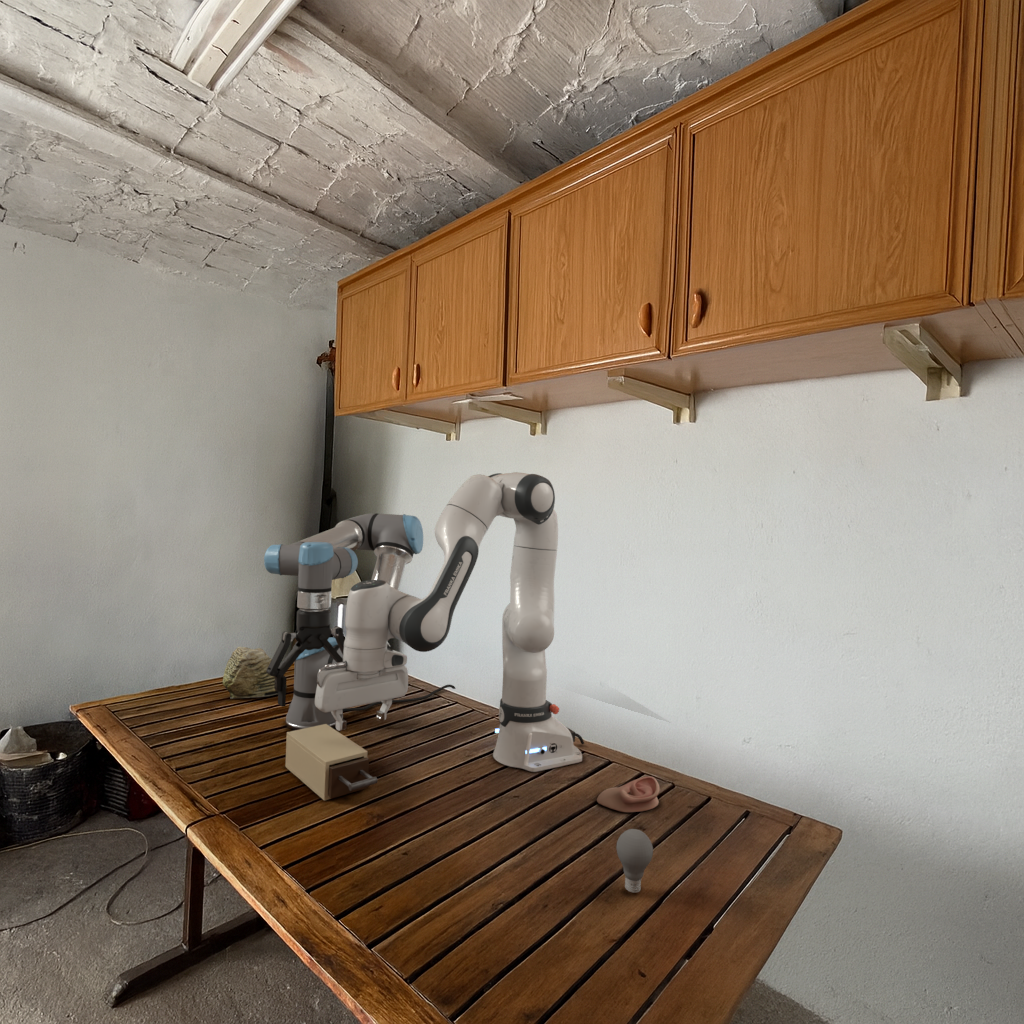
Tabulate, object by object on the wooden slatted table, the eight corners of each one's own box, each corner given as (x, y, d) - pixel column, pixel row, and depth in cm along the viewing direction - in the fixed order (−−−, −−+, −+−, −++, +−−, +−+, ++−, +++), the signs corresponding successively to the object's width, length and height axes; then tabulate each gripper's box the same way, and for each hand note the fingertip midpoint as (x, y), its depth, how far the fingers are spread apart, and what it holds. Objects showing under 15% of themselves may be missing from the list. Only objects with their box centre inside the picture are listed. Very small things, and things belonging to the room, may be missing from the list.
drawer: (382, 798, 132) (383, 768, 132) (344, 810, 127) (345, 779, 126) (328, 757, 151) (329, 731, 151) (293, 766, 146) (294, 739, 145)
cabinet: (366, 788, 139) (367, 751, 138) (324, 800, 132) (325, 762, 132) (324, 757, 154) (326, 723, 154) (285, 766, 147) (286, 732, 147)
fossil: (218, 695, 195) (220, 647, 195) (278, 685, 208) (279, 640, 207) (228, 703, 189) (230, 653, 188) (289, 692, 201) (290, 645, 201)
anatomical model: (596, 789, 133) (599, 767, 145) (595, 808, 134) (599, 785, 145) (660, 798, 131) (659, 775, 142) (659, 817, 131) (658, 792, 142)
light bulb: (610, 879, 108) (613, 822, 108) (644, 879, 109) (647, 822, 109) (619, 902, 102) (622, 840, 102) (655, 901, 103) (658, 840, 103)
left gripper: (265, 616, 136) (261, 714, 137) (370, 607, 152) (367, 694, 153) (253, 610, 142) (250, 704, 142) (356, 602, 158) (352, 687, 158)
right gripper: (325, 669, 122) (322, 740, 122) (413, 655, 136) (410, 719, 137) (310, 661, 127) (307, 730, 127) (397, 649, 141) (394, 711, 141)
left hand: (310, 699), depth 147 cm, fingers open, 13 cm apart
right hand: (361, 724), depth 132 cm, fingers open, 8 cm apart
